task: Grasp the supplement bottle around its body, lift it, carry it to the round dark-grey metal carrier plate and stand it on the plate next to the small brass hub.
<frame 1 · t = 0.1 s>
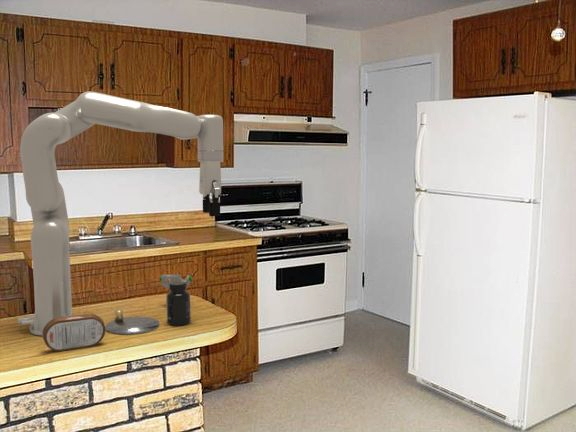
hand: (211, 214, 174), 31 cm above the counter, tool pointing down, fingers open, 9 cm apart
mechanical component: (176, 306, 188), on the counter
supplement bottle: (178, 323, 169), on the counter
carrier plate: (132, 326, 166), on the counter
tin: (75, 348, 148), on the counter
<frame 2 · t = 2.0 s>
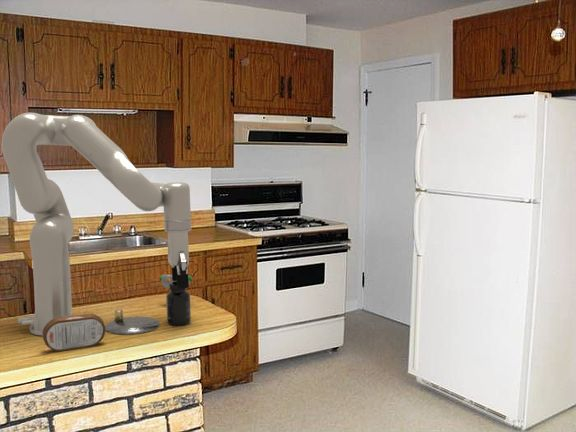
hand: (180, 284, 168), 12 cm above the counter, tool pointing down, fingers open, 9 cm apart
nothing on the counter moved.
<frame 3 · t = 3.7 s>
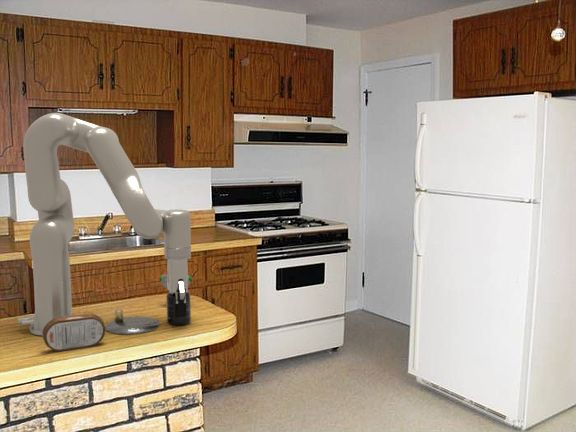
hand: (178, 312, 169), 3 cm above the counter, tool pointing down, fingers closed on supplement bottle, 6 cm apart
supplement bottle: (178, 323, 169), on the counter, touching gripper
everything else where it was.
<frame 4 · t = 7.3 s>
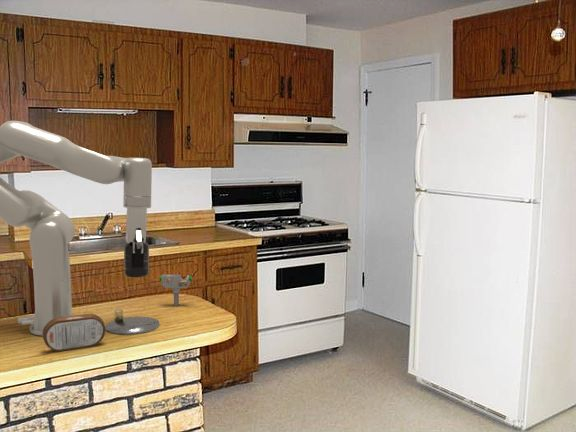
hand: (136, 264, 164), 18 cm above the counter, tool pointing down, fingers closed on supplement bottle, 6 cm apart
supplement bottle: (136, 275, 165), point 15 cm above the counter, touching gripper
everything else where it was.
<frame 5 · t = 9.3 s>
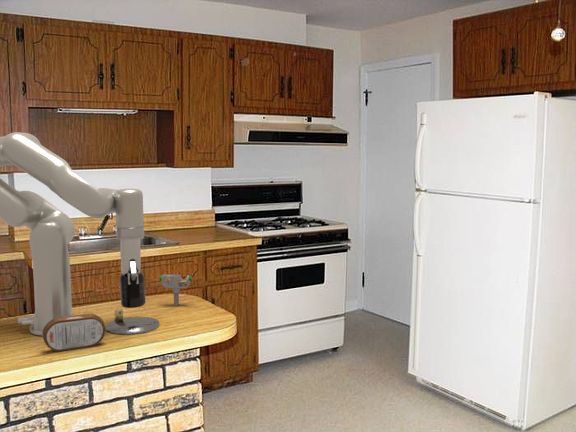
hand: (132, 294, 165), 9 cm above the counter, tool pointing down, fingers closed on supplement bottle, 6 cm apart
supplement bottle: (133, 305, 165), point 6 cm above the counter, touching gripper
everything else where it was.
when the fingers open (5 cm above the counter, at t = 11.2 s): supplement bottle stays where it is, resting on carrier plate.
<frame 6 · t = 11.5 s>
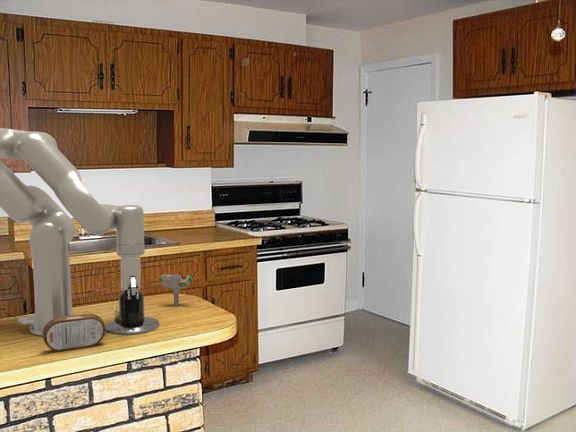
hand: (132, 308, 165), 5 cm above the counter, tool pointing down, fingers open, 9 cm apart
supplement bottle: (132, 324, 166), resting on carrier plate
everything else where it was.
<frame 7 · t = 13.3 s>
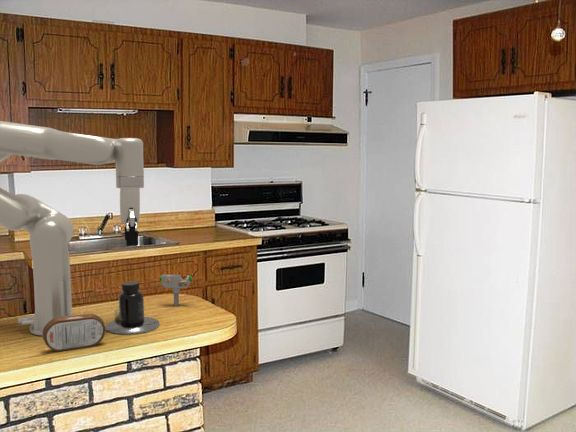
hand: (131, 242, 164), 24 cm above the counter, tool pointing down, fingers open, 9 cm apart
nothing on the counter moved.
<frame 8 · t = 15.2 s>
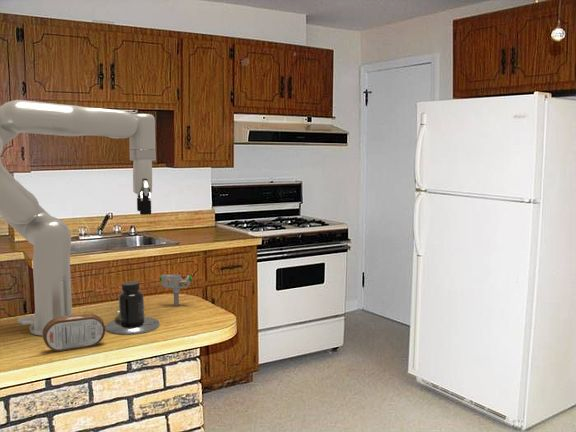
hand: (144, 212, 175), 31 cm above the counter, tool pointing down, fingers open, 9 cm apart
nothing on the counter moved.
at the end: supplement bottle inside the target area on the carrier plate (0.1 cm from its centre), point 0.4 cm above the carrier plate's base; supplement bottle tilted 0°; the gripper is holding nothing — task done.
